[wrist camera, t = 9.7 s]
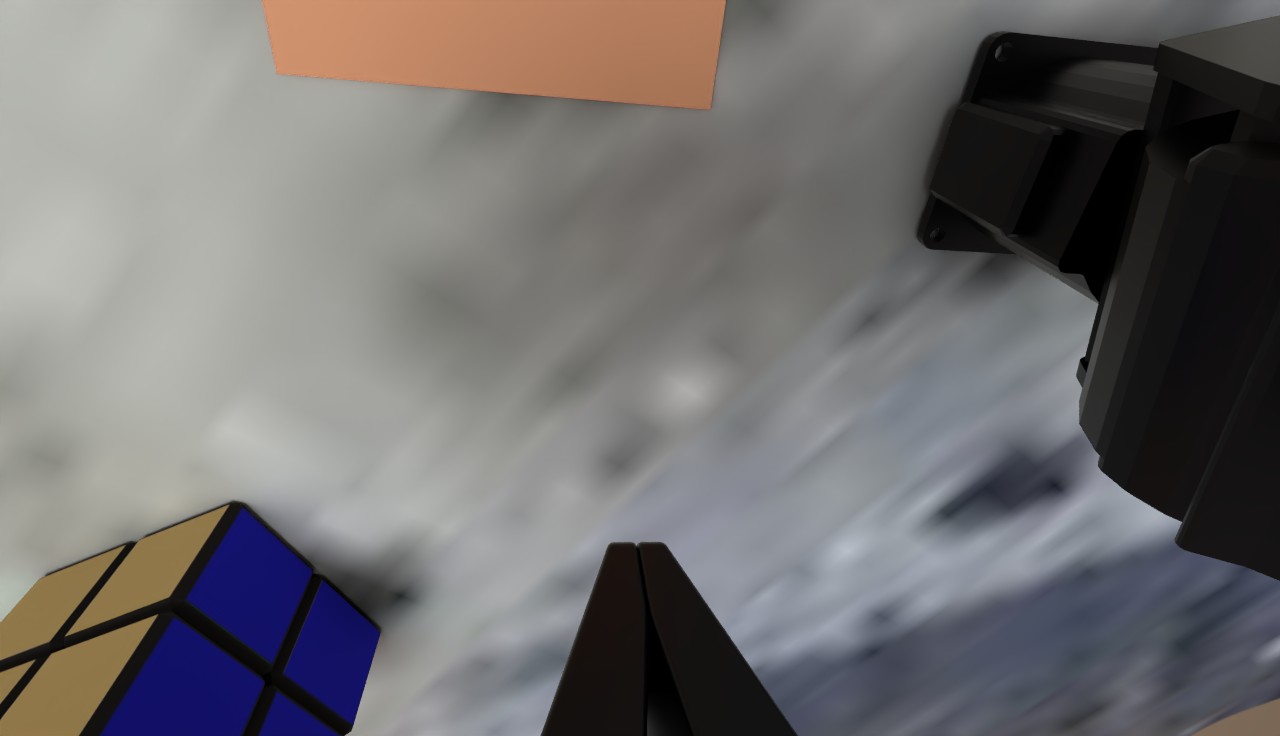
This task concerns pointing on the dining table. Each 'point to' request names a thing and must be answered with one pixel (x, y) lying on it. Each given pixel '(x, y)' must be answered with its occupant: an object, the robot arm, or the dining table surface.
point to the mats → (509, 45)
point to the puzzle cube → (185, 641)
